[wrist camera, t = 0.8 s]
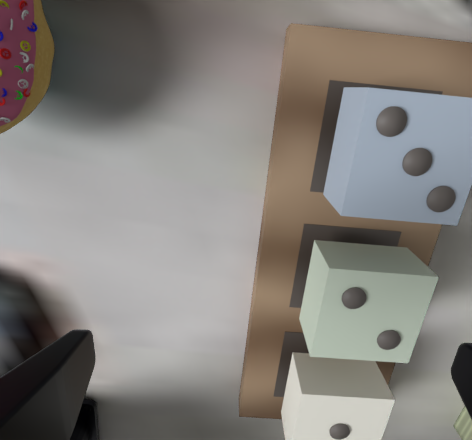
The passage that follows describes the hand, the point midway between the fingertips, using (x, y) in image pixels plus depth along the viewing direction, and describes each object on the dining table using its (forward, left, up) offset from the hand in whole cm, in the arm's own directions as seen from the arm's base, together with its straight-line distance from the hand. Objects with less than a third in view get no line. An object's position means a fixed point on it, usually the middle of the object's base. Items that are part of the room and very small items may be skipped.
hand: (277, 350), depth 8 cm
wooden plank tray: (-4, -6, -13) cm, 14 cm away
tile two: (-4, -6, -10) cm, 12 cm away
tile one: (-11, -6, -10) cm, 16 cm away
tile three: (+4, -6, -10) cm, 12 cm away
